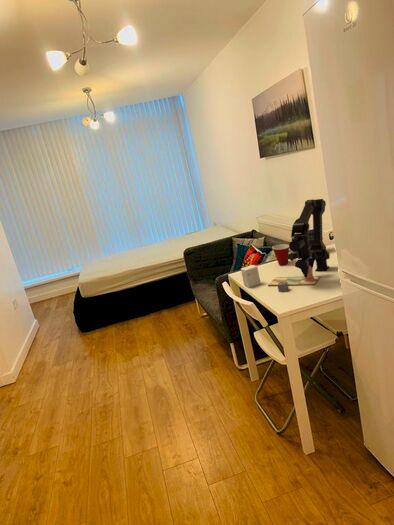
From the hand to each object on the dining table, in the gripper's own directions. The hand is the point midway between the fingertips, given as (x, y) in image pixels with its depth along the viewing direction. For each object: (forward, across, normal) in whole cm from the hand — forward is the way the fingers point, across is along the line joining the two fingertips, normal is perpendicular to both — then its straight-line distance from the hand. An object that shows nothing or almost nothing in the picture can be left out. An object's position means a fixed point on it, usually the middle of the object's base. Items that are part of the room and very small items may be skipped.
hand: (308, 274), depth 203 cm
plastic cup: (+4, -31, -25) cm, 40 cm away
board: (+4, 0, -8) cm, 9 cm away
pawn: (+3, 0, 0) cm, 3 cm away
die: (+4, +12, -10) cm, 16 cm away
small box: (+4, +3, -32) cm, 32 cm away
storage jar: (+4, -50, -9) cm, 51 cm away
